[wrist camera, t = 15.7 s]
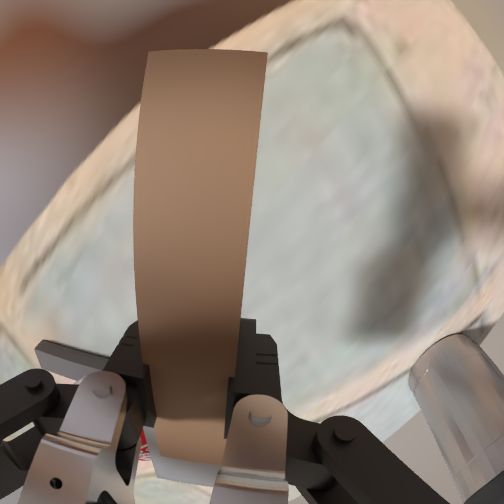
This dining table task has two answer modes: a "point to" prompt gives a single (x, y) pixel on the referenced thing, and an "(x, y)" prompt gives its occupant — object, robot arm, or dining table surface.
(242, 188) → the curved tan plank
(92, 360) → the strip
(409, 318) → the dining table surface
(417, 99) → the dining table surface
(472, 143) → the dining table surface
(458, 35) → the dining table surface
